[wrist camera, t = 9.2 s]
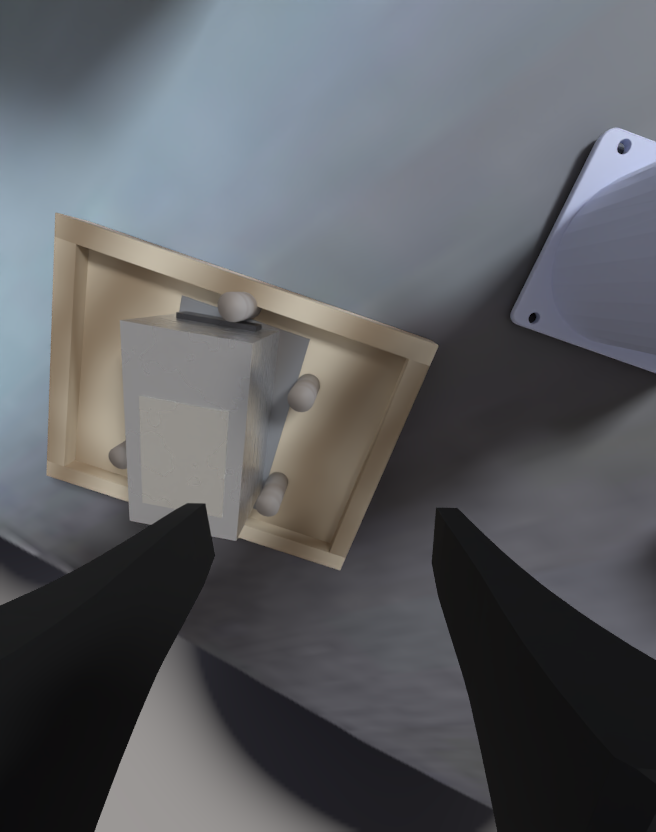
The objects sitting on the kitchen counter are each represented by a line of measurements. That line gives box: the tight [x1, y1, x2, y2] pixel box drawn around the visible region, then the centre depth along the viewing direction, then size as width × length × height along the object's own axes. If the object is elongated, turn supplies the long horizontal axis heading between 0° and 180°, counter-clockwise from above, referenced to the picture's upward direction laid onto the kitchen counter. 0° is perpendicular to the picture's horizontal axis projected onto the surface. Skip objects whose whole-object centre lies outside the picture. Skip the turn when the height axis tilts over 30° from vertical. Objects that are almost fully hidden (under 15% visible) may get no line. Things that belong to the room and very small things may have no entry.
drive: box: [120, 311, 279, 541], centre depth 16 cm, size 5×9×5 cm, turn 171°
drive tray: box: [47, 213, 439, 570], centre depth 18 cm, size 18×14×4 cm
